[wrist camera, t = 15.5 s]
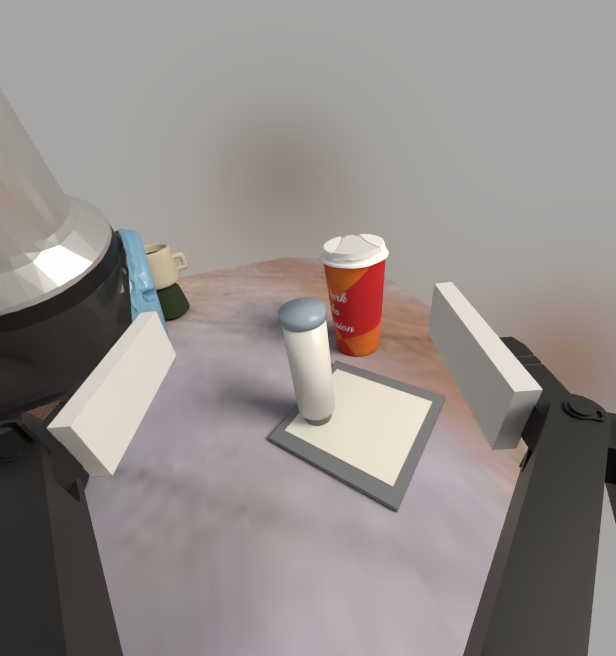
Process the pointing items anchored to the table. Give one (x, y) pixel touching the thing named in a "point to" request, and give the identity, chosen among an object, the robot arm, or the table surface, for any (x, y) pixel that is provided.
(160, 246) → the character mug
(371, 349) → the coffee cup
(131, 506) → the table surface
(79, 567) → the robot arm
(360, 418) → the writing board
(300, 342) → the thick grey marker
